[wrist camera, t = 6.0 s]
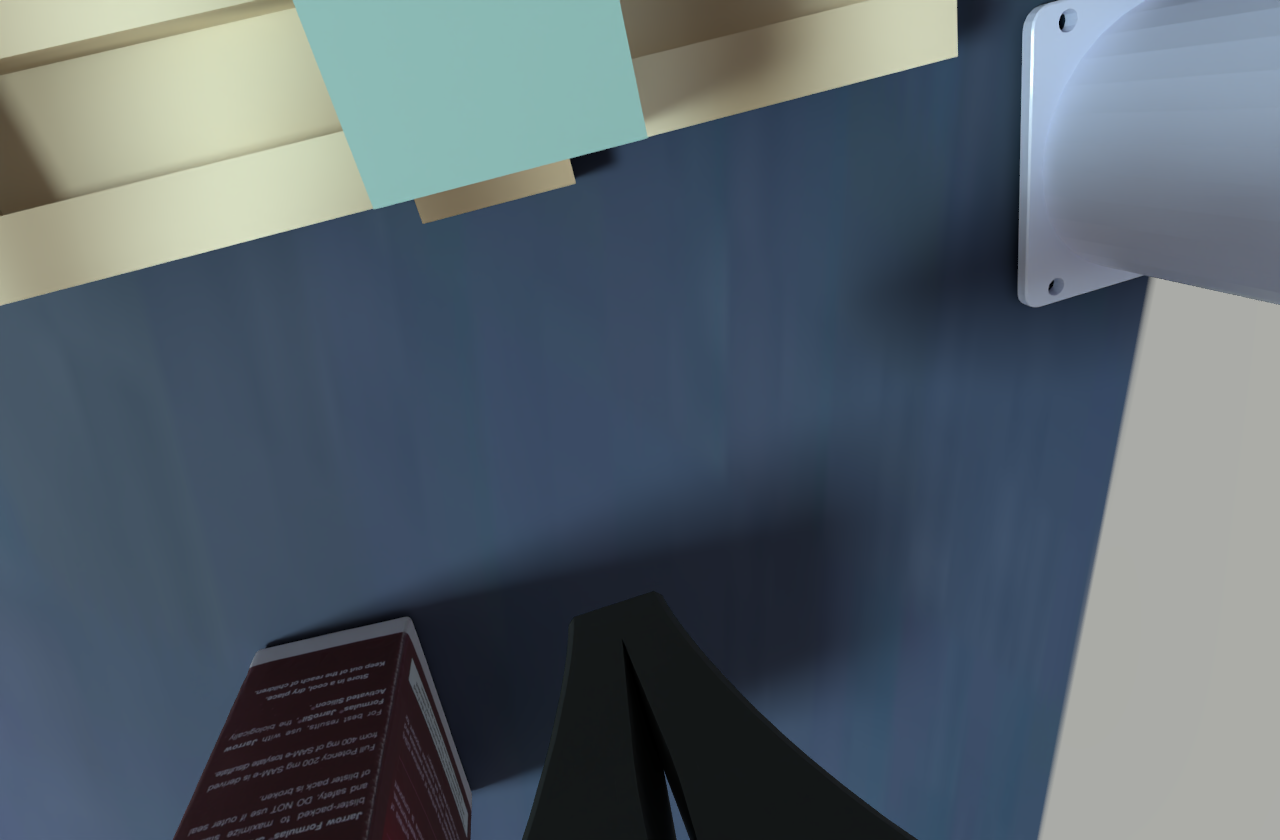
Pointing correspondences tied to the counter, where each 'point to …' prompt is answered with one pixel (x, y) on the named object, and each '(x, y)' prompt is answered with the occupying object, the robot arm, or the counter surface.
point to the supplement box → (335, 747)
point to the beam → (328, 115)
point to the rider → (472, 86)
